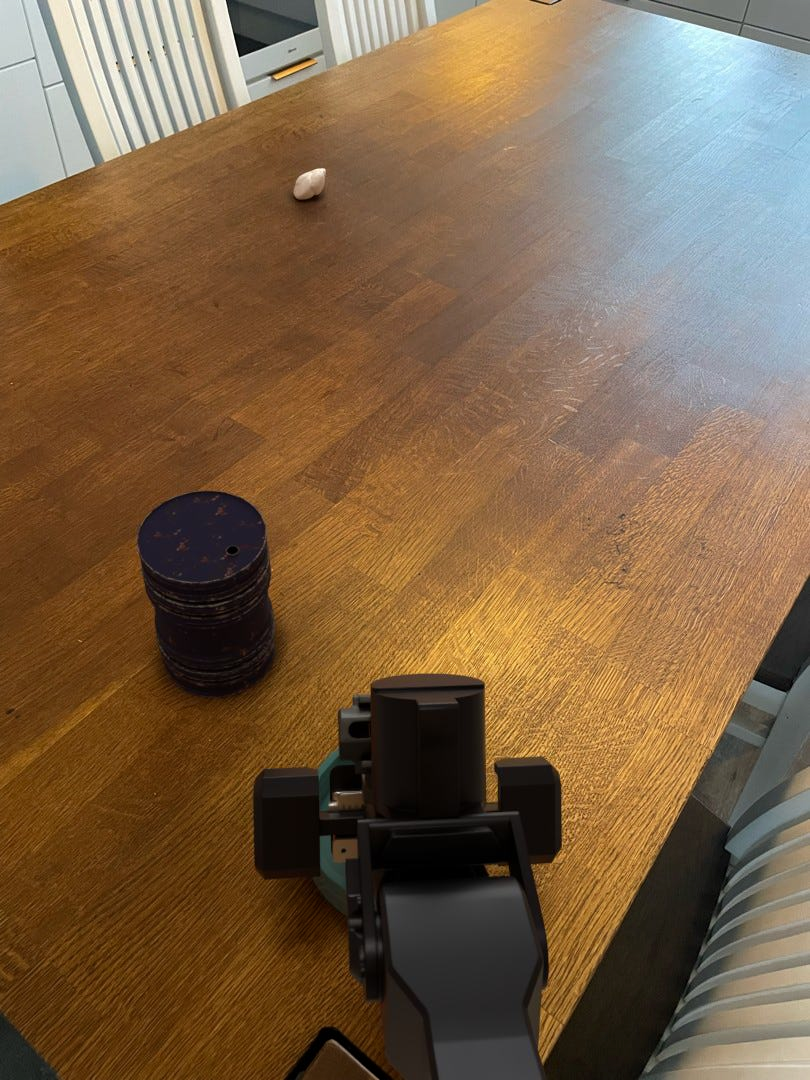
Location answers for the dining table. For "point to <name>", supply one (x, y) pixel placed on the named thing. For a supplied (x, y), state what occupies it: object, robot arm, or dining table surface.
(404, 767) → the robot arm
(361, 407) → the dining table surface
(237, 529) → the dark blue cylinder
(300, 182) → the dumpling
